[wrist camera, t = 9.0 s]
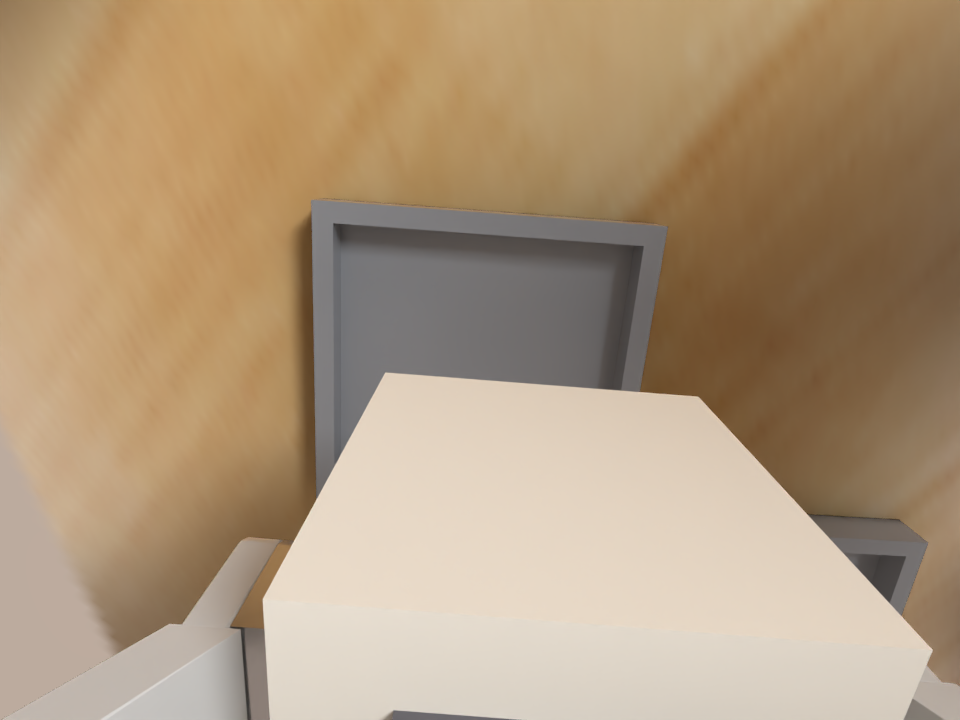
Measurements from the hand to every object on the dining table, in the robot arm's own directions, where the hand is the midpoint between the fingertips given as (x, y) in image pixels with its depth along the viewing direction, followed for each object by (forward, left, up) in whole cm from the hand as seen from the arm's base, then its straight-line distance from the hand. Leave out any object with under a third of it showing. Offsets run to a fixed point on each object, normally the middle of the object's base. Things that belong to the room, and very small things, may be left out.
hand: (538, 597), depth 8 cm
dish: (+1, 0, -11) cm, 11 cm away
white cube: (0, 0, -2) cm, 2 cm away
